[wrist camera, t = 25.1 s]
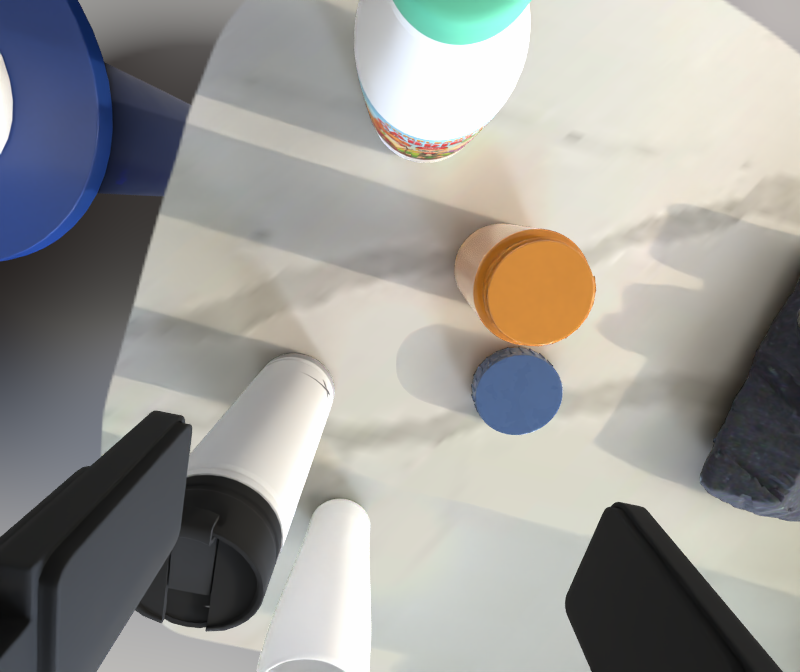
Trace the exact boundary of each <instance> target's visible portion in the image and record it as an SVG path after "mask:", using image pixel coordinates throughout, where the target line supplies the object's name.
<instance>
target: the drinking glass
mask: <svg viewBox="0 0 800 672" xmlns="http://www.w3.org/2000/svg"><path fill="white" fill-rule="evenodd" d="M369 538H370V520H369V517H368V515H367V513H366V511H365V510H364V509H363V508H362V507H361V506H360V505H359V504H357V503H355V502H353V501H351V500H347V499H332V500H329V501H327V502H325V503H323V504H321V505H320V506H319V507H318V508H317V509H316V510H315V512H314V513H313V515H312V517H311V520H310V524H309V527H308V531H307V533H306V536H305V538H304V541H303V543H302V546H301V548H300V551H299V553H298V556H297V558H296V560H295V563H294V565H293V568H292V570H291V573H290V575H289V577H288V580H287V582H286V585H285V587H284V589H283V592H282V594H281V597H280V599H279V602H278V604H277V607H276V609H275V612H274V614H273V617H272V620H271V622H270V625H269V628H268V631H267V634H266V637H265V640H264V644H263V647H262V651H261V654H260V658H259V661H258V665H257V669H256V672H369V665H370V650H371V597H370V555H369Z"/></svg>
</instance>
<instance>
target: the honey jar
mask: <svg viewBox="0 0 800 672" xmlns="http://www.w3.org/2000/svg"><path fill="white" fill-rule="evenodd" d="M454 274H455V280H456V283H457V286H458V288H459V290H460V292H461V293H462V295H463V296H464V298H465V299H466V300H467V302H468V303H469V304H470V306H471V307H472V309H473V310H474V311H475V313H476V314H477V316H478V317H479V318H480V320H481V321H482V322H483V324H484V325H485V327H486V328H487V329H488V330H489V331H490V332H492V333H493V334H494V335H495V336H497V337H499V338H500V339H502V340H504V341H507V342H510V343H513V344H518V345H526V346H543V345H548V344H553V343H555V342H558V341H560V340H562V339H564V338H567V337H568V336H569V335H570V334H572V333H573V332H574V331H575V330H577V329H578V328H579V327H580V325H581V324H582V323H583V322H584V320H585V319H586V318H587V317H588V314H589V312H590V310H591V308H592V306H593V303H594V298H595V292H596V284H595V276H593V275H592V272H591V269H590V267H589V265H588V263H587V260H586V258H585V256H584V254H583V253H582V251H581V250H580V249H579V248H578V246H577V245H576V244H575V243H574V242H572V241H571V240H570V239H569V238H567V237H565V236H564V235H562V234H560V233H557V232H554V231H551V230H546V229H539V228H532V227H526V226H519V225H512V224H505V223H496V224H490V225H487V226H484V227H482V228H480V229H478V230H476V231H475V232H473V233H472V234H471V235H470V236H469V237H468V238H467V239H466V240H465V241H464V242H463V244H462V245H461V247H460V249H459V251H458V253H457V256H456V259H455V265H454Z"/></svg>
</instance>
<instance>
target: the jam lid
mask: <svg viewBox="0 0 800 672" xmlns="http://www.w3.org/2000/svg"><path fill="white" fill-rule="evenodd" d="M471 387H472V394H471V396H472V398H473V401H474V402H475V404H474V405H475V407H476V410H477V412H479V414H480V416H481V418H482V419H483V420H484V422H485V423H486V424H487V425H489V426H490V427H491V428H493V429H495V430H496V431H499V432H501V433H505V434H511V435H521V434H527V433H531V432H533V431H536V430H538V429H540V428H541V427H543V426H544V425H546V424H547V423H548V422H549V421H550V420H551V419H552V418H553V417H554V415H555V414H556V413H557V411H558V409H559V407H560V404H561V401H562V394H563V390H562V383H561V380H560V377H559V375H558V373H557V372H556V370H555V369H554V368H553V365H552V364H551V363H550V362H549V361H548V360H547V361H546V360H545V358H544V357H543V356H542V355H541V354H540V353H539V354H538V353H536V352H535V351H532V350H531V349H526V348H520V347H515V348H507V349H503V350H500V351H496V352H495V353H494V354H492V355H490V356H489V357H486V359H485V360H484V361H483V362H482V363H481V365H479V367H478V369H477V371H476V373H475V374H474V378H473V382H472V384H471Z"/></svg>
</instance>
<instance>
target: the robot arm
mask: <svg viewBox="0 0 800 672" xmlns="http://www.w3.org/2000/svg"><path fill="white" fill-rule="evenodd" d="M12 112H13V98H12V91H11V85H10V79H9V76H8V73H7V69H6V66H5V63H4V60H3V57H2V55H1V53H0V154H1V152H2V150H3V148H4V146H5V144H6V142H7V140H8V136H9V132H10V128H11V124H12ZM191 437H192V426H191V425H190V424H185V419H184V417H183V416H181V415H176V414H171V413H166V412H161V411H153V412H151V413H150V414H149V415H148V416H147V417H145V418H144V419H143V420H142V421H141V422H140V423H139V424H138V425H136V426H135V427H134V428H133V429H132V430H131V431H130V432H129V433H127V434H126V435H125V436H124V437H123V438H122V439H121V440H120V441H118V442H117V443H116V444H115V445H114V446H113V447H112V448H111V449H109V450H108V451H107V452H106V453H105V454H104V455H103V456H101V457H100V458H99V459H98V460H97V461H96V462H95V463H94V464H92V465H91V466H87V467H83V468H81V469H80V470H78V471H77V472H75V473H74V474H73V475H72V476H71V477H69V478H68V479H67V480H66V481H65V482H64V483H62V485H60V486H59V487H58V488H57V489H55V490H54V491H53V492H52V493H51V494H50V495H49V496H47V497H46V498H45V499H44V500H43V501H42V502H40V503H39V504H38V505H37V506H36V507H35V508H34V509H33V510H31V511H30V512H29V513H28V514H27V515H25V516H24V517H23V518H22V519H21V520H20V521H18V522H17V523H16V524H15V525H14V526H13V527H11V528H10V529H9V530H8V531H7V532H6V533H5V534H4V535H2V536H1V537H0V672H97V670H98V668H99V667H100V665H101V664H102V662H103V660H104V659H105V657H106V655H107V654H108V652H109V651H110V649H111V647H112V646H113V644H114V642H115V641H116V639H117V638H118V636H119V635H120V633H121V631H122V630H123V628H124V626H125V625H126V623H127V622H128V620H129V618H130V617H131V615H132V614H133V612H134V610H135V609H136V607H137V606H138V604H139V602H140V601H141V599H142V598H143V596H144V594H145V593H146V591H147V589H148V588H149V586H150V585H151V583H152V581H153V580H154V578H155V577H156V575H157V573H158V572H159V570H160V569H161V567H162V565H163V564H164V562H165V561H166V559H167V557H168V556H169V554H170V552H171V551H172V549H173V548H174V546H175V544H176V541H177V539H178V536H179V533H180V528H181V520H182V512H183V504H184V495H185V487H186V478H187V470H188V462H189V453H190V445H191ZM565 608H566V613H567V616H568V618H569V620H570V623H571V625H572V627H573V630H574V632H575V634H576V637H577V639H578V641H579V643H580V646H581V648H582V650H583V653H584V655H585V657H586V660H587V662H588V664H589V666H590V669H591V671H592V672H783V671H782V670H781V669H780V668H779V667H778V665H777V664H776V663H775V662H774V661H773V660H772V658H771V657H770V656H769V655H768V654H767V652H766V651H765V650H764V649H763V648H762V646H761V645H760V644H759V643H758V642H757V640H756V639H755V638H754V637H753V636H752V635H751V633H750V632H749V631H748V630H747V629H746V627H745V626H744V625H743V624H742V623H741V621H740V620H739V619H738V618H737V617H736V615H735V614H734V613H733V612H732V611H731V610H730V608H729V607H728V606H727V605H726V604H725V602H724V601H723V600H722V599H721V598H720V596H719V595H718V594H717V593H716V592H715V591H714V589H713V588H712V587H711V586H710V585H709V583H708V582H707V581H706V580H705V579H704V577H703V576H702V575H701V574H700V573H699V571H698V570H697V569H696V568H695V567H694V566H693V564H692V563H691V562H690V561H689V560H688V558H687V557H686V556H685V555H684V554H683V552H682V551H681V550H680V549H679V548H678V546H677V545H676V544H675V543H674V542H673V541H672V539H671V538H670V537H669V536H668V535H667V533H666V532H665V531H664V530H663V529H662V527H661V526H660V525H659V524H658V523H657V521H656V520H655V519H654V518H653V517H652V516H651V514H650V513H649V512H648V511H647V510H646V509H645V508H644V507H641V506H636V505H631V504H626V503H621V502H616V503H614V504H613V505H612V506H611V507H607V508H606V509H605V510H604V512H603V514H602V517H601V519H600V521H599V523H598V525H597V528H596V530H595V532H594V534H593V537H592V539H591V541H590V543H589V546H588V548H587V550H586V552H585V555H584V557H583V559H582V561H581V564H580V566H579V568H578V570H577V573H576V575H575V577H574V579H573V582H572V584H571V586H570V588H569V591H568V593H567V595H566V600H565Z"/></svg>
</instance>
